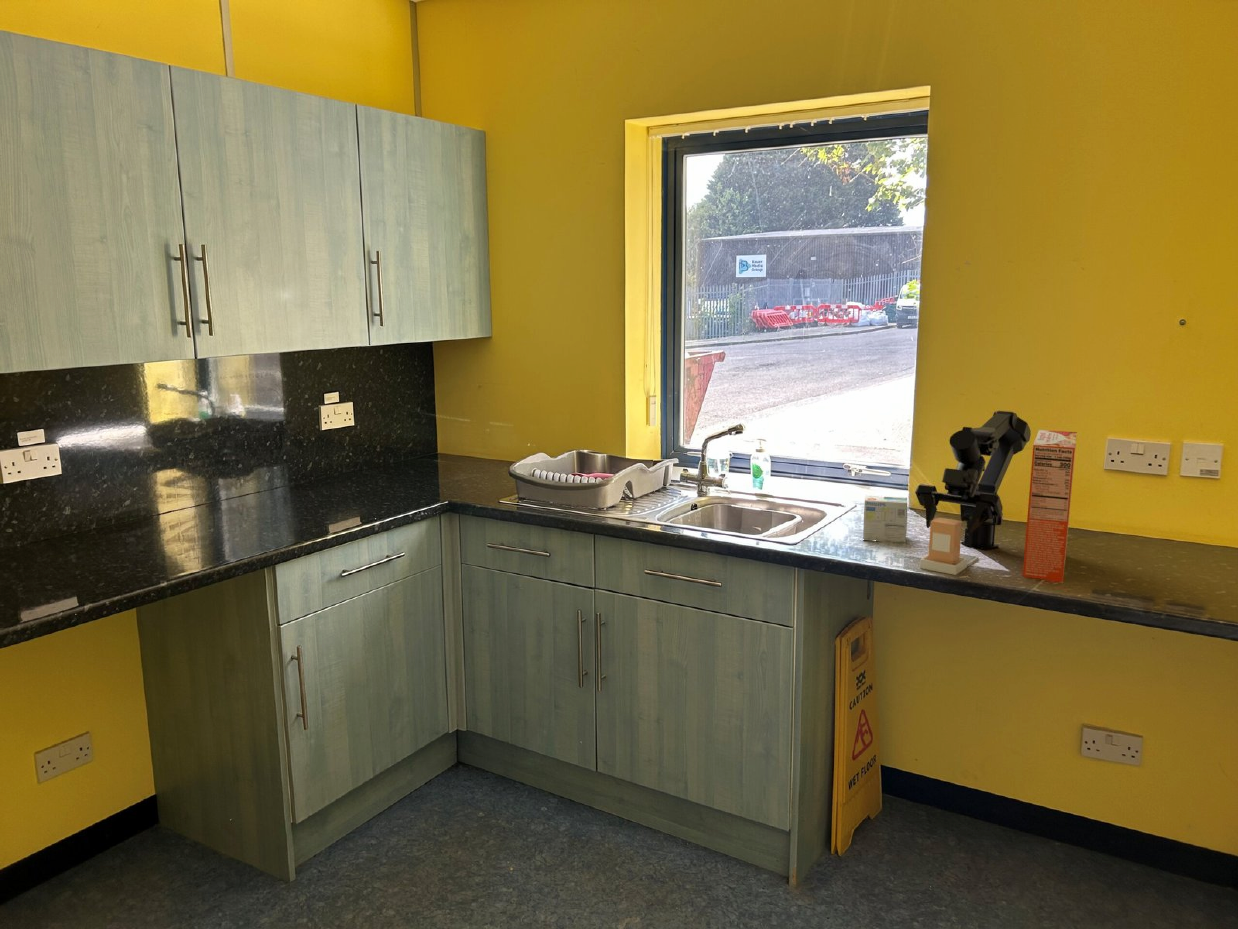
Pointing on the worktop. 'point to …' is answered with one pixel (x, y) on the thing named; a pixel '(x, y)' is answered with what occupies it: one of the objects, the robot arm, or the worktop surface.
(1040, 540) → the orange cereal box
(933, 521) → the block
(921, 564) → the case
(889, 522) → the light bulb box
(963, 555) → the case lid
